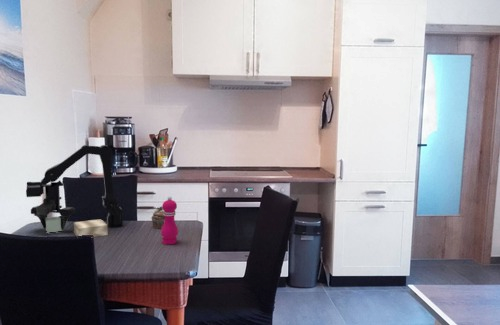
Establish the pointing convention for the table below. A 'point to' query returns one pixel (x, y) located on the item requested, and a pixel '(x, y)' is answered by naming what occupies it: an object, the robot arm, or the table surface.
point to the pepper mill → (169, 222)
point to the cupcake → (158, 218)
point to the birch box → (91, 228)
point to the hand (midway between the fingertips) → (53, 228)
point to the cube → (53, 224)
